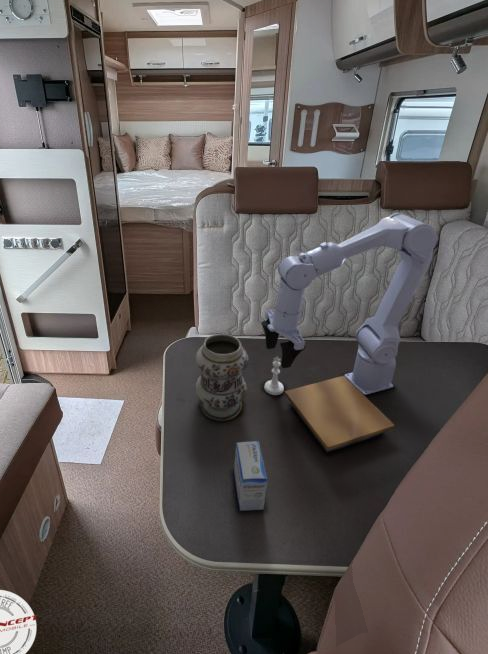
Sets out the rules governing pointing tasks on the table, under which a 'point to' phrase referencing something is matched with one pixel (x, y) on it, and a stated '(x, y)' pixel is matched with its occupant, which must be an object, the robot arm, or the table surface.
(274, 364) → the chess piece
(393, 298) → the robot arm
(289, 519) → the table surface
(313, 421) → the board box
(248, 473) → the medicine box
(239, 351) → the apothecary jar
